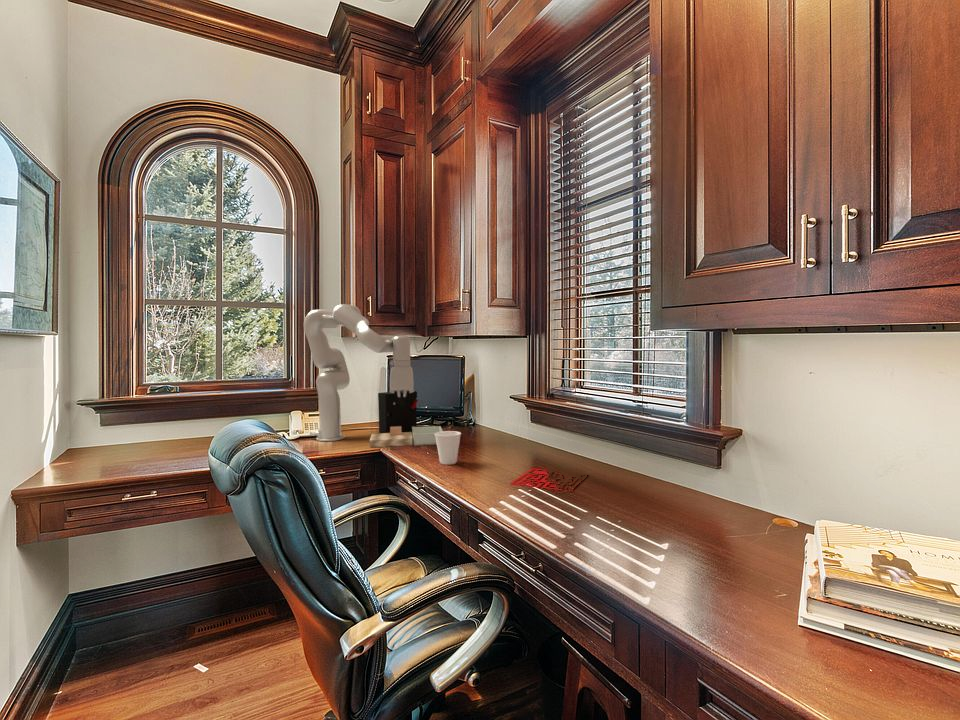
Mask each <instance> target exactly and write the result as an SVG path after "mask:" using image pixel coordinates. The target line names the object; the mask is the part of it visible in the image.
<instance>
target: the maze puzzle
mask: <svg viewBox="0 0 960 720" xmlns="http://www.w3.org/2000/svg"><path fill="white" fill-rule="evenodd" d="M532 470H533V471H532ZM538 470H543V471H538ZM545 470H546V469H542V468H530V469H529V470H527V471H526V472H525V473H523V474H522V475H520V476H519V477H517V478H515V479H514V480H513V481H512V482H510V483H509V485H510V484H511V485H514V486H520V487H526V486H528V487H529V488H534V487H537V488H536V489H539V488H540V489H542V488H546V489H545V490H550V489H555V490H554V491H558V490H562V489H558V487H557V488H550V487H556V484H554V485H555V486H554V485H553V484H550V483H553V482H549V481H551V479H550V480H549V481H548V478H547V477H548V476H549V475H548V474H547V471H545ZM531 471H532V472H531ZM529 472H530V473H529ZM528 473H529V474H528ZM531 473H533V474H531ZM538 474H544V475H538ZM525 475H526V476H525ZM532 475H538V476H532ZM547 475H548V476H547ZM542 476H543V477H542ZM522 477H523V478H522ZM535 477H536V478H535ZM541 477H542V478H541ZM527 478H528V479H527ZM540 478H541V479H540ZM546 478H547V479H546ZM530 479H534V480H530ZM538 479H539V480H538ZM545 479H546V480H545ZM523 481H524V482H523ZM531 481H536V482H531ZM552 481H554V479H552ZM525 482H527V483H525ZM540 482H544V483H540ZM533 483H536V485H535V484H533ZM526 484H527V485H526ZM542 484H543V486H542ZM511 485H510V486H511ZM534 485H535V486H534ZM547 485H548V486H547ZM552 485H553V486H552ZM546 486H547V487H546ZM538 487H539V488H538ZM568 490H569V491H570V489H568ZM564 492H566V489H565V491H564ZM572 492H574V491H573V490H572Z"/></svg>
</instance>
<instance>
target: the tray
mask: <svg viewBox="0 0 960 720" xmlns="http://www.w3.org/2000/svg"><path fill="white" fill-rule="evenodd" d="M441 431H444V430H443V428H442V426H441V425H437V426H434V425H433V426H417V427H412V432H411V433H412V443H413V446H416V447H417V446H433V445H435V446H437V443H436V438H435V435H434V434H435V433H437V432H441Z"/></svg>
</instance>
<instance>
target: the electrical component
mask: <svg viewBox="0 0 960 720" xmlns="http://www.w3.org/2000/svg"><path fill="white" fill-rule="evenodd" d="M407 391H408V390H407ZM403 393H404V390H400V395H401V397H402V395H403ZM377 396H378V397H377V399H378V401H377V402H378V434H379V433H390V427H399V426H401V429H402V432H411V433H412V427H418V423H417V422H418V421H417V416H418V415H417V412H418V411H417V404H418V401H419V399H417V398H418V392H417V390H414V392H412V393H409V394H408V395H407V396H406V397H405V404H404V406H400V404H398V396H397V395H396V394H395V393H390V392H389V391H386V392H385V391H384V392H378V393H377Z"/></svg>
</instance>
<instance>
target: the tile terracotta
mask: <svg viewBox="0 0 960 720" xmlns="http://www.w3.org/2000/svg"><path fill="white" fill-rule="evenodd" d="M390 435H402V429H401V426H399V427H390Z"/></svg>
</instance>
